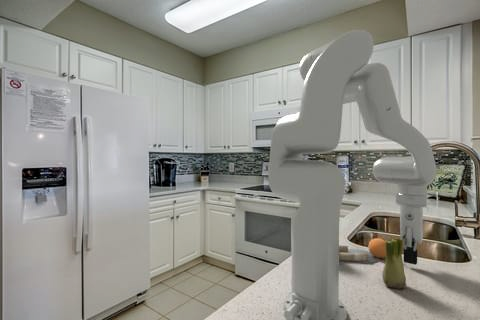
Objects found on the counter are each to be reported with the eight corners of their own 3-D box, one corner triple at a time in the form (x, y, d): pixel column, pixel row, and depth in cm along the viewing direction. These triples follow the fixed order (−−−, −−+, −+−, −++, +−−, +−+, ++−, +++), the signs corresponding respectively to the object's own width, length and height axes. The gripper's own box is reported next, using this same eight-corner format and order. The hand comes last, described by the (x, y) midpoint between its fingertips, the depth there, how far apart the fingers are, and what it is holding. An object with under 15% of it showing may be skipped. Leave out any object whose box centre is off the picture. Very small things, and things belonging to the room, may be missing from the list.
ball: (362, 240, 82) (369, 259, 78) (379, 234, 78) (388, 254, 75) (370, 242, 85) (377, 260, 82) (387, 237, 82) (396, 255, 78)
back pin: (348, 246, 83) (321, 244, 84) (348, 254, 82) (321, 252, 84) (346, 245, 85) (320, 243, 87) (346, 252, 85) (320, 250, 86)
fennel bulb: (387, 290, 60) (387, 241, 60) (376, 280, 65) (377, 235, 65) (411, 291, 60) (412, 241, 60) (399, 281, 65) (399, 235, 65)
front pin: (366, 260, 78) (337, 259, 79) (365, 252, 78) (337, 251, 79) (369, 262, 76) (339, 261, 77) (368, 254, 76) (339, 253, 77)
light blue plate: (375, 266, 73) (375, 265, 73) (337, 257, 80) (337, 256, 80) (382, 254, 82) (382, 254, 82) (347, 247, 89) (347, 246, 89)
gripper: (426, 205, 64) (425, 276, 64) (427, 198, 76) (427, 257, 76) (392, 202, 69) (391, 268, 69) (398, 195, 81) (398, 251, 81)
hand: (410, 262), depth 73 cm, fingers closed
